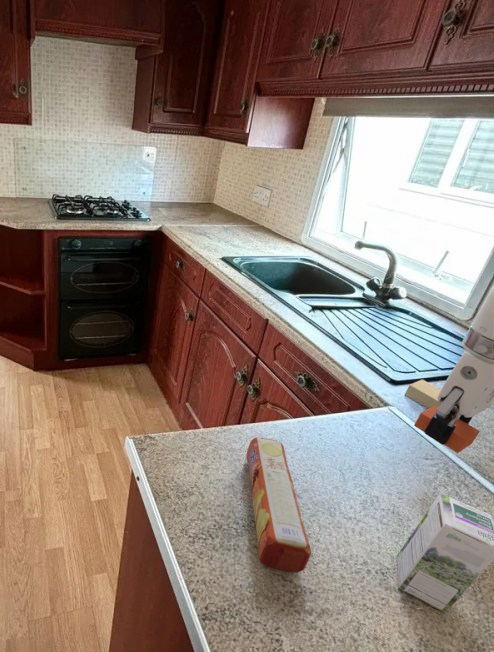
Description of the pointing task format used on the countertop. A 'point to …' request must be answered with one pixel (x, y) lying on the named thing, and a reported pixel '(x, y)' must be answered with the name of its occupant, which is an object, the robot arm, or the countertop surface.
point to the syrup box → (446, 552)
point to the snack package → (276, 508)
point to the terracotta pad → (460, 435)
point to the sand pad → (424, 393)
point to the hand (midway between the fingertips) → (443, 432)
